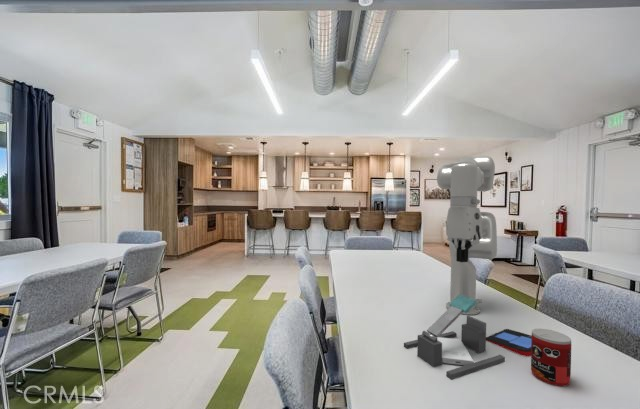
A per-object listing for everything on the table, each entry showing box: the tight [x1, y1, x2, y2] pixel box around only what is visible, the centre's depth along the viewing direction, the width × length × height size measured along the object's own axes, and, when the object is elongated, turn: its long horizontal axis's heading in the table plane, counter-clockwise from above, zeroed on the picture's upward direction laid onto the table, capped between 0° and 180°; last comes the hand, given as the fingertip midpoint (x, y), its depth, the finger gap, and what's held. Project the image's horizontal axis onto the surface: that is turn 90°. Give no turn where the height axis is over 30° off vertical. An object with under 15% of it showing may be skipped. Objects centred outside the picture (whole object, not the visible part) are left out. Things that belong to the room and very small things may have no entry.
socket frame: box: [403, 315, 506, 380], centre depth 83 cm, size 21×18×9 cm
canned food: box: [530, 328, 572, 387], centre depth 73 cm, size 8×8×11 cm
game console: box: [486, 328, 532, 357], centre depth 91 cm, size 14×13×2 cm
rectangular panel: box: [421, 295, 477, 342], centre depth 83 cm, size 18×6×1 cm, turn 115°
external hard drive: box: [436, 337, 475, 366], centre depth 83 cm, size 2×8×12 cm
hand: (462, 261), depth 89 cm, fingers closed
